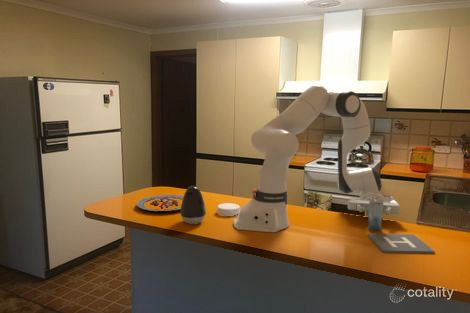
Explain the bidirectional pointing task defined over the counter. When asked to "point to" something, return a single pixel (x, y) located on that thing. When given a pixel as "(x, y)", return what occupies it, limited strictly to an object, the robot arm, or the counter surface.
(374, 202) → the canister
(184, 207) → the black rounded cylinder
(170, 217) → the counter surface
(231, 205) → the coaster
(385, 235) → the letter board
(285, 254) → the counter surface
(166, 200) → the ceramic plate
